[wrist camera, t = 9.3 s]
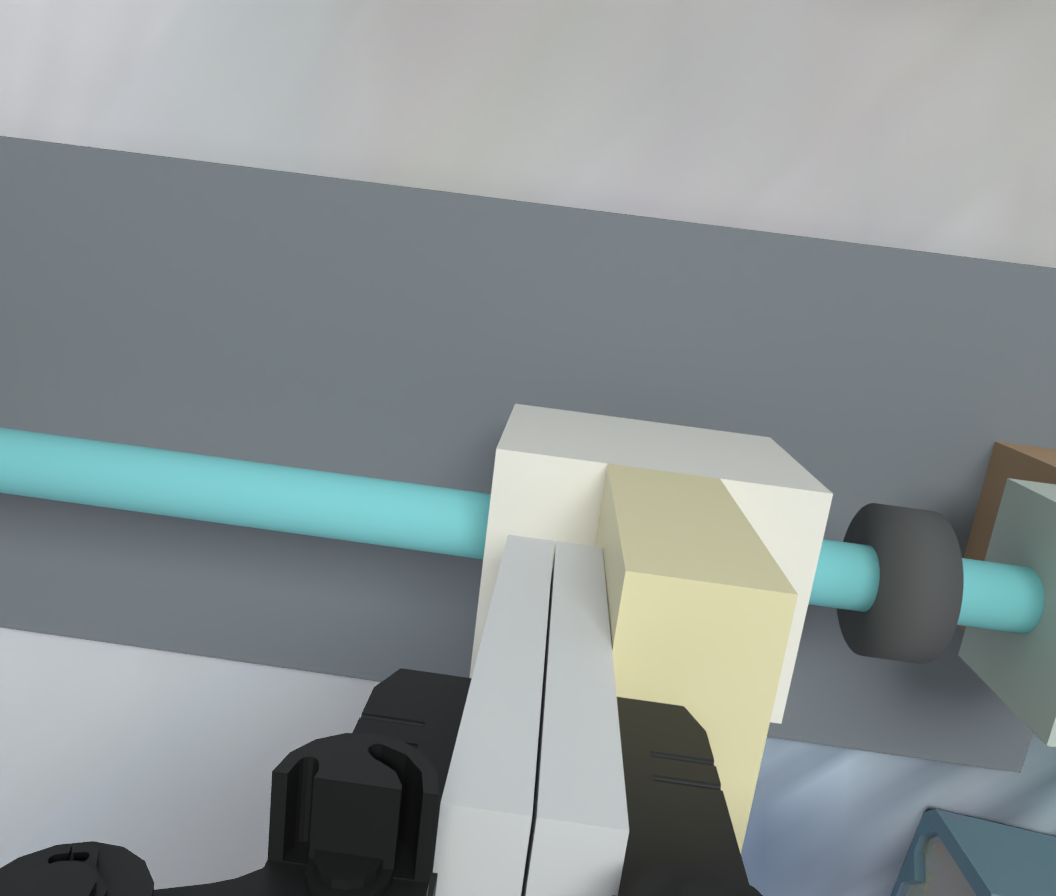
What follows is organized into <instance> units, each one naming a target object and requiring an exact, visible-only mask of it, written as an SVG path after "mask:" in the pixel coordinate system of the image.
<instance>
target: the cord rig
mask: <svg viewBox="0 0 1056 896" xmlns="http://www.w3.org/2000/svg"><path fill="white" fill-rule="evenodd" d="M515 404H522V405H530V406H537V407H545V408H552V409H560V410H568V411H575V412H583V413H590V414H598V415H605V416H613V417H620V418H628V419H636V420H643V421H651V422H658V423H666V424H673V425H681V426H688V427H696V428H703V429H711V430H719V431H726V432H734V433H741V434H749V435H756V436H764V437H770V438H771V439H773V440H774V441H775V442H776V443H777V444H778V445H779V446H780V447H781V448H783V449H784V450H785V451H786V452H787V453H788V454H789V455H790V456H792V457H793V458H794V459H795V460H796V461H797V462H798V463H799V464H800V465H802V466H803V467H804V468H805V469H806V470H807V471H808V472H809V473H811V474H812V475H813V476H814V477H815V478H816V479H817V480H818V481H819V482H821V483H822V484H823V485H824V486H825V487H826V488H827V489H828V490H830V491H831V492H832V493H833V497H832V501H831V506H830V510H829V515H828V519H827V523H826V528H825V532H824V537H823V541H822V546H821V550H820V555H819V559H818V563H817V568H816V572H815V577H814V581H813V586H812V590H811V595H810V599H809V603H808V608H807V612H806V617H805V621H804V626H803V630H802V635H801V639H800V643H799V648H798V652H797V657H796V661H795V666H794V670H793V674H792V679H791V683H790V688H789V692H788V697H787V701H786V706H785V710H784V714H783V719H782V723H781V724H779V723H772V722H770V724H769V729H768V733H767V737H773V738H780V739H787V740H794V741H801V742H808V743H815V744H822V745H829V746H836V747H843V748H850V749H857V750H864V751H871V752H878V753H885V754H892V755H899V756H906V757H913V758H920V759H927V760H934V761H941V762H948V763H955V764H962V765H969V766H976V767H983V768H990V769H997V770H1004V771H1011V772H1018V773H1020V772H1021V769H1022V766H1023V763H1024V759H1025V756H1026V753H1027V750H1028V746H1029V743H1030V740H1031V737H1032V734H1033V732H1034V733H1035V734H1036V735H1037V736H1038V737H1039V739H1040V740H1041V741H1042V742H1043V743H1044V744H1045V745H1046V746H1052V747H1056V268H1049V267H1041V266H1033V265H1025V264H1017V263H1009V262H1001V261H993V260H985V259H977V258H969V257H961V256H954V255H946V254H938V253H930V252H922V251H914V250H906V249H898V248H890V247H882V246H874V245H866V244H858V243H850V242H842V241H834V240H826V239H818V238H810V237H802V236H794V235H786V234H778V233H770V232H762V231H754V230H746V229H738V228H730V227H722V226H714V225H706V224H698V223H690V222H682V221H674V220H666V219H658V218H650V217H643V216H635V215H627V214H619V213H611V212H603V211H595V210H587V209H579V208H571V207H563V206H555V205H547V204H539V203H531V202H523V201H515V200H507V199H499V198H491V197H483V196H475V195H467V194H459V193H451V192H443V191H435V190H427V189H419V188H411V187H403V186H395V185H387V184H379V183H371V182H363V181H355V180H347V179H339V178H331V177H324V176H316V175H308V174H300V173H292V172H284V171H276V170H268V169H260V168H252V167H244V166H236V165H228V164H220V163H212V162H204V161H196V160H188V159H180V158H172V157H164V156H156V155H148V154H140V153H132V152H124V151H116V150H108V149H100V148H92V147H84V146H76V145H68V144H60V143H52V142H44V141H36V140H28V139H20V138H12V137H5V136H0V627H3V628H10V629H17V630H24V631H31V632H38V633H45V634H52V635H59V636H66V637H73V638H80V639H87V640H94V641H101V642H108V643H115V644H122V645H129V646H136V647H143V648H150V649H157V650H164V651H171V652H178V653H185V654H192V655H199V656H206V657H213V658H220V659H227V660H234V661H241V662H248V663H255V664H262V665H269V666H276V667H283V668H290V669H297V670H304V671H311V672H318V673H325V674H332V675H339V676H346V677H353V678H360V679H367V680H374V681H381V682H382V681H384V680H385V679H386V678H388V677H389V676H390V675H392V674H393V673H395V672H396V671H397V670H399V669H400V668H403V669H410V670H417V671H424V672H431V673H438V674H445V675H452V676H460V677H467V678H469V677H470V668H471V660H472V651H473V643H474V634H475V626H476V617H477V609H478V600H479V592H480V583H481V575H482V566H483V558H484V549H485V541H486V532H487V524H488V515H489V507H490V498H491V490H492V481H493V473H494V464H495V456H496V448H497V446H498V443H499V441H500V439H501V436H502V434H503V431H504V429H505V427H506V424H507V422H508V420H509V417H510V415H511V412H512V410H513V408H514V405H515Z"/></svg>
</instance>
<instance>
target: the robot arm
mask: <svg viewBox="0 0 1056 896" xmlns="http://www.w3.org/2000/svg"><path fill="white" fill-rule="evenodd" d="M553 545H554V541H551V540H544V539H537V538H529V537H522V536H515V535H508V536H507V540H506V544H505V548H504V552H503V556H502V560H501V564H500V568H499V572H498V576H497V580H496V584H495V588H494V592H493V596H492V599H491V603H490V607H489V611H488V615H487V619H486V623H485V627H484V631H483V635H482V639H481V643H480V647H479V651H478V655H477V659H476V663H475V667H474V671H473V675H472V678H467V677H460V676H452V675H445V674H438V673H431V672H424V671H417V670H410V669H403V668H400V669H399V670H397V671H396V672H395V673H393V674H392V675H390V676H389V677H388V678H386V679H385V680H384V681H382V682H381V683H379V684H378V685H377V686H375V687H374V689H373V691H372V693H371V695H370V697H369V699H368V701H367V704H366V706H365V708H364V710H363V712H362V716H361V718H359V720H358V723H357V725H356V727H355V729H354V731H353V733H344V734H340V735H335V736H330V737H326V738H321V739H316V740H314V741H312V742H310V743H308V744H306V745H304V746H302V747H300V748H298V749H296V750H294V751H292V752H290V753H289V754H288V755H287V756H286V757H285V758H284V759H283V761H282V762H281V763H280V764H279V765H278V766H277V767H276V768H275V769H274V770H273V771H272V789H271V808H270V827H269V846H268V860H267V862H266V864H265V866H264V868H262V869H260V870H257V871H254V872H252V873H249V874H247V875H244V876H241V877H239V878H236V879H231V880H226V881H221V882H216V883H211V884H202V885H194V886H185V887H176V888H168V889H159V890H154V882H153V879H152V877H151V875H150V872H149V870H148V868H147V865H146V863H145V861H144V860H142V859H141V858H139V857H138V856H136V855H135V854H133V853H132V852H130V851H129V850H127V849H126V848H124V847H121V846H115V845H110V844H104V843H99V842H83V843H72V844H62V845H55V846H52V847H49V848H46V849H43V850H40V851H37V852H34V853H31V854H28V855H25V856H22V857H19V858H17V859H16V860H14V861H12V862H10V863H9V864H7V865H5V866H4V867H2V868H0V896H762V895H761V894H760V893H759V892H758V891H757V890H756V889H755V888H754V887H752V886H750V885H749V882H748V879H747V875H746V872H745V868H744V865H743V861H742V857H741V854H740V850H739V847H738V843H737V840H736V836H735V832H734V829H733V825H732V822H731V818H730V815H729V811H728V807H727V804H726V800H725V797H724V793H723V791H722V790H721V782H720V779H719V775H718V772H717V768H716V766H714V757H713V754H712V750H711V747H710V743H709V739H708V736H707V732H706V731H705V729H704V728H703V727H702V726H701V725H700V724H699V723H698V722H697V720H696V719H695V718H694V717H693V716H692V715H691V714H690V712H689V711H688V710H687V709H686V708H685V707H684V706H680V705H672V704H665V703H658V702H651V701H644V700H637V699H630V698H623V697H617V696H616V685H615V675H614V664H613V654H612V643H611V633H610V622H609V611H608V601H607V590H606V580H605V569H604V559H603V548H602V547H595V546H588V545H581V544H573V543H566V542H559V541H556V546H555V553H554V560H553V568H552V558H553ZM551 571H552V575H551Z"/></svg>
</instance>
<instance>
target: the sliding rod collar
mask: <svg viewBox="0 0 1056 896" xmlns="http://www.w3.org/2000/svg"><path fill="white" fill-rule="evenodd" d="M832 497H833V493H832V492H831V491H830V490H828V489H827V488H826V487H825V486H824V485H823V484H822V483H821V482H819V481H818V480H817V479H816V478H815V477H814V476H813V475H812V474H811V473H809V472H808V471H807V470H806V469H805V468H804V467H803V466H802V465H800V464H799V463H798V462H797V461H796V460H795V459H794V458H793V457H792V456H790V455H789V454H788V453H787V452H786V451H785V450H784V449H783V448H781V447H780V446H779V445H778V444H777V443H776V442H775V441H774V440H773V439H771V438H770V437H764V436H756V435H749V434H741V433H734V432H726V431H719V430H711V429H703V428H696V427H688V426H681V425H673V424H666V423H658V422H651V421H643V420H636V419H628V418H620V417H613V416H605V415H598V414H590V413H583V412H575V411H568V410H560V409H552V408H545V407H537V406H530V405H522V404H515V405H514V408H513V410H512V412H511V415H510V417H509V420H508V422H507V424H506V427H505V429H504V431H503V434H502V436H501V439H500V441H499V443H498V446H497V448H496V456H495V464H494V473H493V481H492V490H491V498H490V507H489V515H488V524H487V532H486V541H485V549H484V558H483V566H482V575H481V583H480V592H479V600H478V609H477V617H476V626H475V634H474V643H473V651H472V660H471V668H470V677H469V678H472V675H473V671H474V667H475V663H476V659H477V655H478V651H479V647H480V643H481V639H482V635H483V631H484V627H485V623H486V619H487V615H488V611H489V607H490V603H491V599H492V596H493V592H494V588H495V584H496V580H497V576H498V572H499V568H500V564H501V560H502V556H503V552H504V548H505V544H506V540H507V536H508V535H515V536H522V537H529V538H537V539H544V540H551V541H554V545H553V558H552V568H553V560H554V553H555V546H556V541H559V542H566V543H573V544H581V545H588V546H595V547H602V548H603V559H604V569H605V580H606V590H607V601H608V611H609V622H610V633H611V643H612V654H613V664H614V675H615V685H616V696H617V697H623V698H630V699H637V700H644V701H651V702H658V703H665V704H672V705H680V706H684V707H685V708H686V709H687V710H688V711H689V712H690V714H691V715H692V716H693V717H694V718H695V719H696V720H697V722H698V723H699V724H700V725H701V726H702V727H703V728H704V729H705V731H706V732H707V736H708V739H709V743H710V747H711V750H712V754H713V757H714V766H716V768H717V772H718V775H719V779H720V782H721V790H722V791H723V793H724V797H725V800H726V804H727V807H728V811H729V815H730V818H731V822H732V825H733V829H734V832H735V836H736V840H737V843H738V847H739V850H740V854H741V851H742V846H743V842H744V837H745V833H746V828H747V824H748V819H749V815H750V810H751V806H752V801H753V796H754V792H755V787H756V783H757V778H758V774H759V769H760V765H761V760H762V756H763V751H764V747H765V742H766V738H767V733H768V729H769V724H770V722H772V723H779V724H781V723H782V719H783V714H784V710H785V706H786V701H787V697H788V692H789V688H790V683H791V679H792V674H793V670H794V666H795V661H796V657H797V652H798V648H799V643H800V639H801V635H802V630H803V626H804V621H805V617H806V612H807V608H808V603H809V599H810V595H811V590H812V586H813V581H814V577H815V572H816V568H817V563H818V559H819V555H820V550H821V546H822V541H823V537H824V532H825V528H826V523H827V519H828V515H829V510H830V506H831V501H832ZM551 575H552V571H551Z"/></svg>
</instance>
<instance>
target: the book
mask: <svg viewBox="0 0 1056 896" xmlns="http://www.w3.org/2000/svg"><path fill="white" fill-rule="evenodd" d="M891 896H1056V837H1054V836H1050V835H1045V834H1041V833H1037V832H1033V831H1028V830H1024V829H1020V828H1015V827H1011V826H1007V825H1003V824H998V823H994V822H990V821H985V820H981V819H977V818H973V817H968V816H964V815H960V814H955V813H951V812H947V811H942V810H938V809H933V810H930V811H926V812H924V813H923V816H922V818H921V821H920V823H919V826H918V828H917V831H916V833H915V836H914V838H913V841H912V843H911V846H910V848H909V851H908V853H907V856H906V858H905V861H904V863H903V866H902V868H901V871H900V873H899V876H898V878H897V881H896V883H895V886H894V888H893V891H892V893H891Z"/></svg>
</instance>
